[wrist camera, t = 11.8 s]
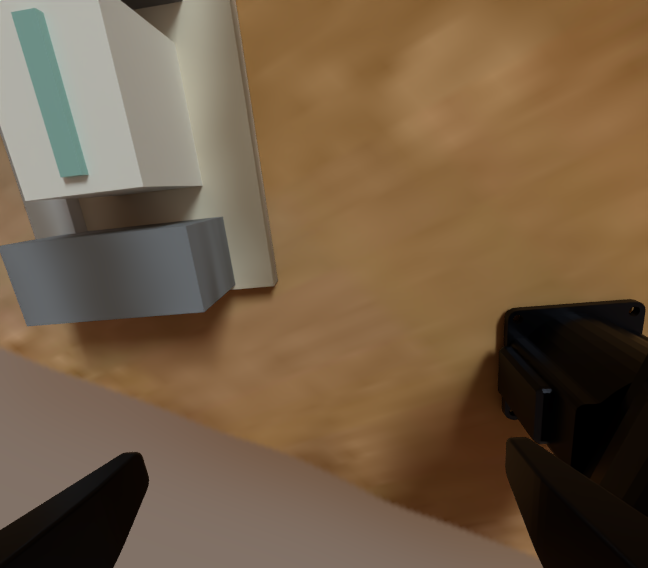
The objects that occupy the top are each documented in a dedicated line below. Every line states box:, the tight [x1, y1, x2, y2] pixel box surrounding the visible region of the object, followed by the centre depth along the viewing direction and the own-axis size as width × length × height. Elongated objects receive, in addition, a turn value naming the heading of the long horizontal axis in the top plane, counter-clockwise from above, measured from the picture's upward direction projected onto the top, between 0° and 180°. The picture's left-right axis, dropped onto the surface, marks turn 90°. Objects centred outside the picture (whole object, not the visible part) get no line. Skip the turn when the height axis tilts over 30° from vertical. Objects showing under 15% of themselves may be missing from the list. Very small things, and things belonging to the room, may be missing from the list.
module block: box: [0, 0, 203, 201], centre depth 14 cm, size 4×6×5 cm
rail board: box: [0, 0, 278, 326], centre depth 15 cm, size 12×16×5 cm
